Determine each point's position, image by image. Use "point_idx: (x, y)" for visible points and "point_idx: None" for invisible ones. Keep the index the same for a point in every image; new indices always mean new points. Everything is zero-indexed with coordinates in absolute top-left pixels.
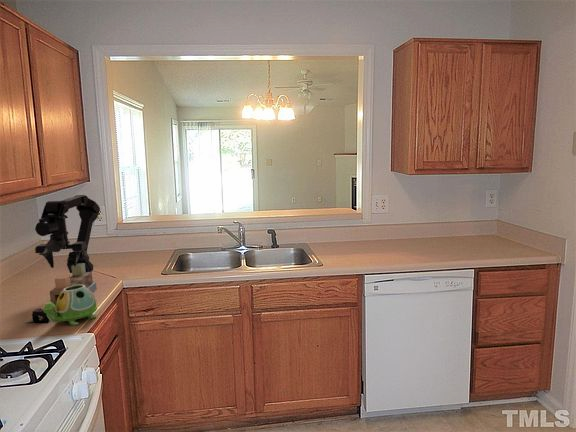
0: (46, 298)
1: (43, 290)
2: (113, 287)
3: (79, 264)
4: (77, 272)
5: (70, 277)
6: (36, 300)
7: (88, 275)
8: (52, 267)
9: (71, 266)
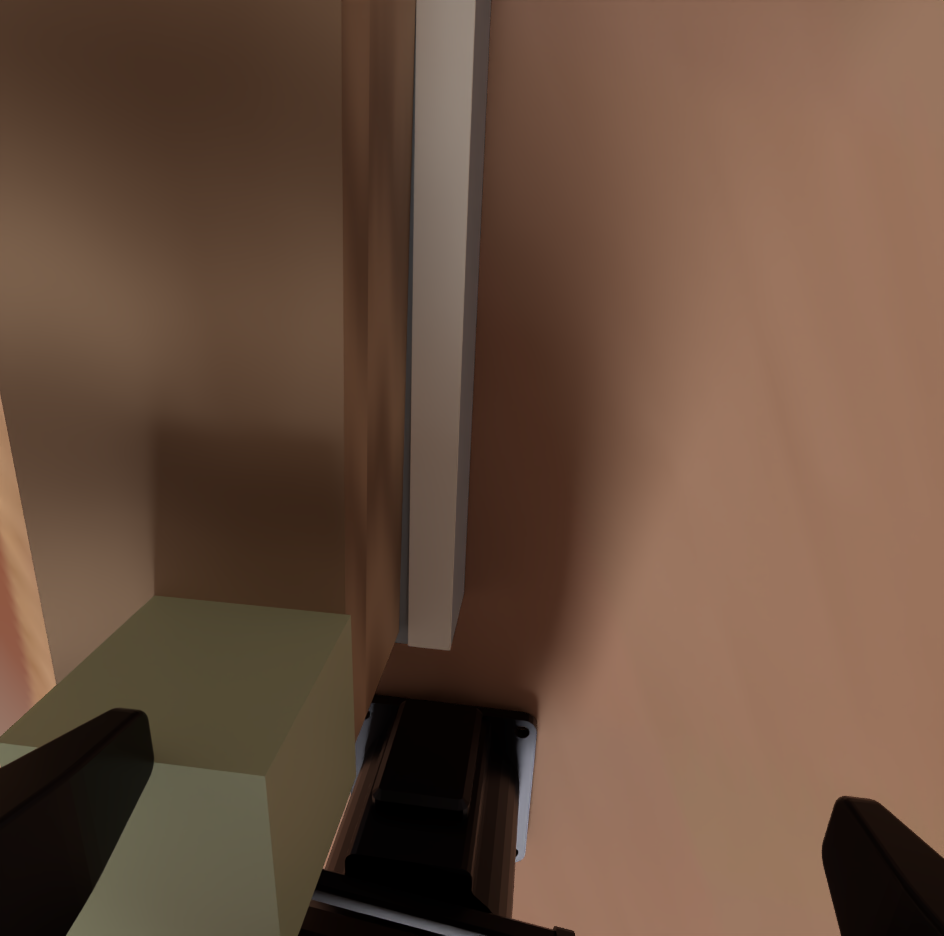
0: (789, 363)
1: (923, 721)
2: (14, 565)
3: (115, 868)
4: (213, 638)
5: (325, 467)
6: (931, 307)
7: (55, 575)
8: (845, 808)
9: (265, 772)
